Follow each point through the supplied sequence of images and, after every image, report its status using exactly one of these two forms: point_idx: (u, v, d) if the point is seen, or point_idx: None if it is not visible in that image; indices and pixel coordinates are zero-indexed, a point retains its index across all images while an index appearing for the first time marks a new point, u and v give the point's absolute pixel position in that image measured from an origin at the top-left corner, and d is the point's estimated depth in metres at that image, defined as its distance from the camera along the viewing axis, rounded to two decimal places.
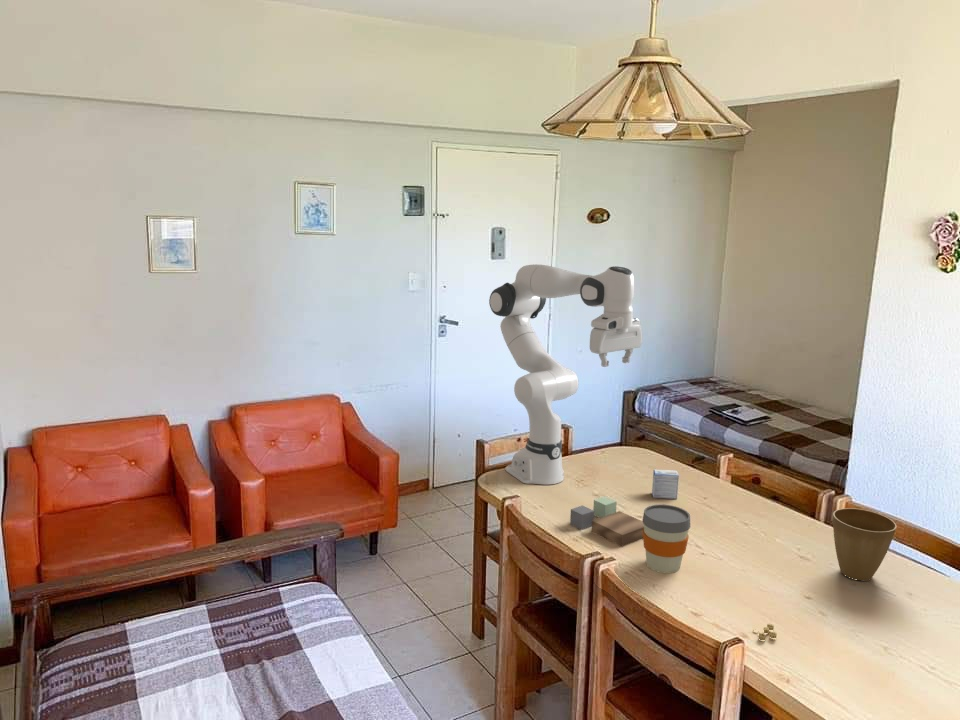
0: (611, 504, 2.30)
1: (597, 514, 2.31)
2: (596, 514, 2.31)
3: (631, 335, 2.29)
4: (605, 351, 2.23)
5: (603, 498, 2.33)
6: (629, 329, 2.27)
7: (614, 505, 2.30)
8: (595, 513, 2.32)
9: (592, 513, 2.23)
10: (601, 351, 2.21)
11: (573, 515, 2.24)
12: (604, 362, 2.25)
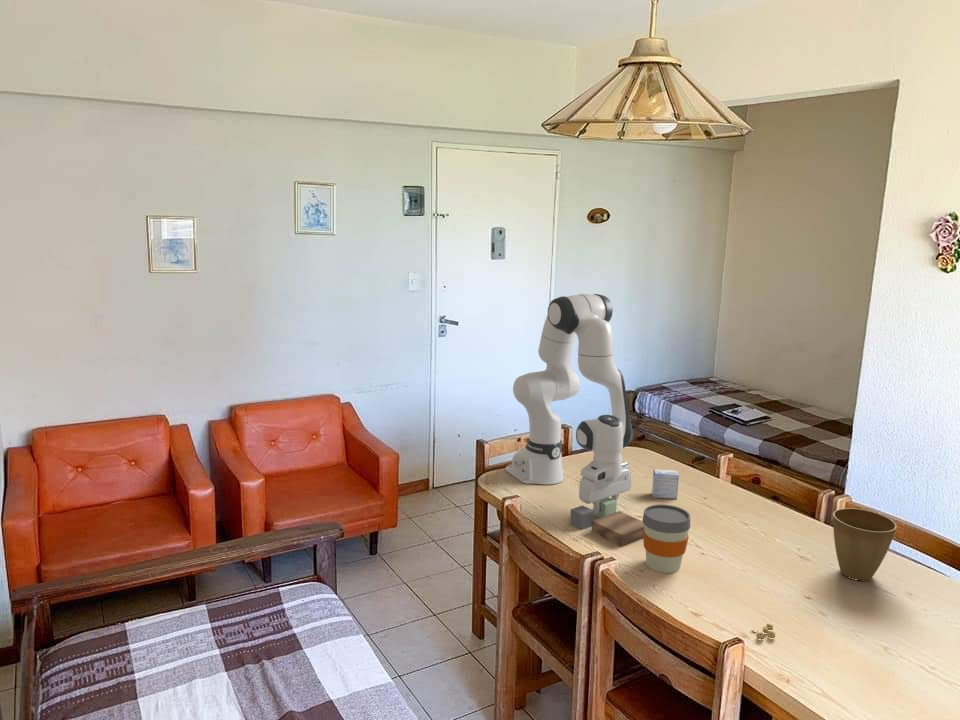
0: (611, 504, 2.30)
1: (597, 514, 2.31)
2: (597, 514, 2.31)
3: (620, 480, 2.32)
4: (594, 500, 2.25)
5: None
6: (618, 475, 2.30)
7: (614, 505, 2.30)
8: (595, 513, 2.32)
9: (592, 513, 2.23)
10: (590, 501, 2.24)
11: (573, 515, 2.24)
12: (597, 508, 2.29)
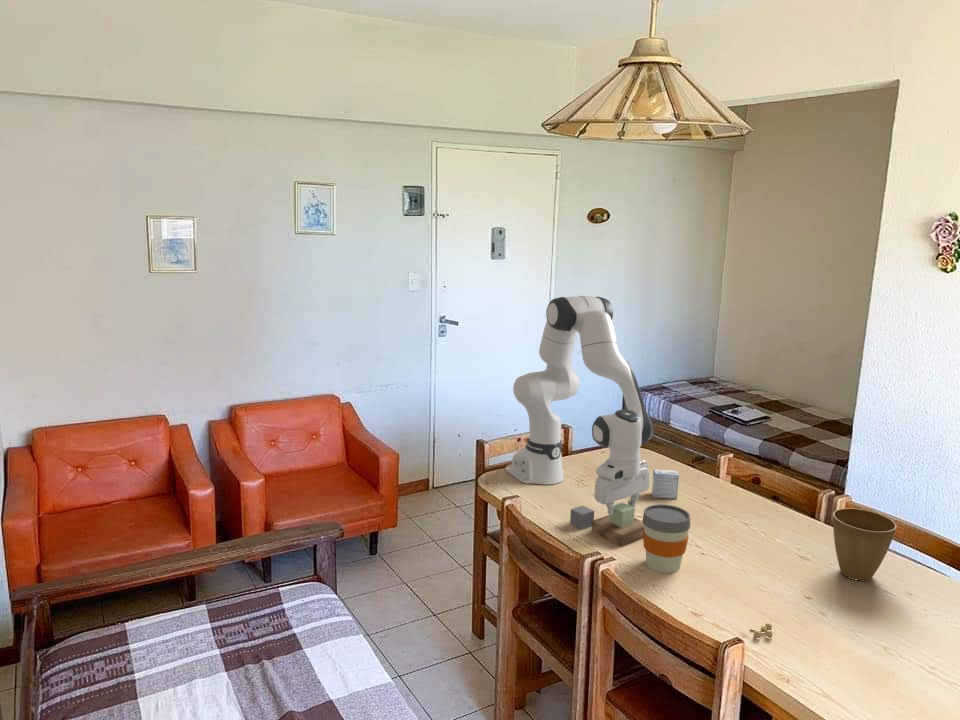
0: (629, 511, 2.16)
1: (614, 521, 2.18)
2: (613, 521, 2.18)
3: (638, 480, 2.18)
4: (611, 501, 2.11)
5: (620, 504, 2.19)
6: (636, 474, 2.16)
7: (632, 512, 2.17)
8: (611, 520, 2.18)
9: (592, 513, 2.23)
10: (607, 502, 2.10)
11: (573, 515, 2.24)
12: (611, 510, 2.14)
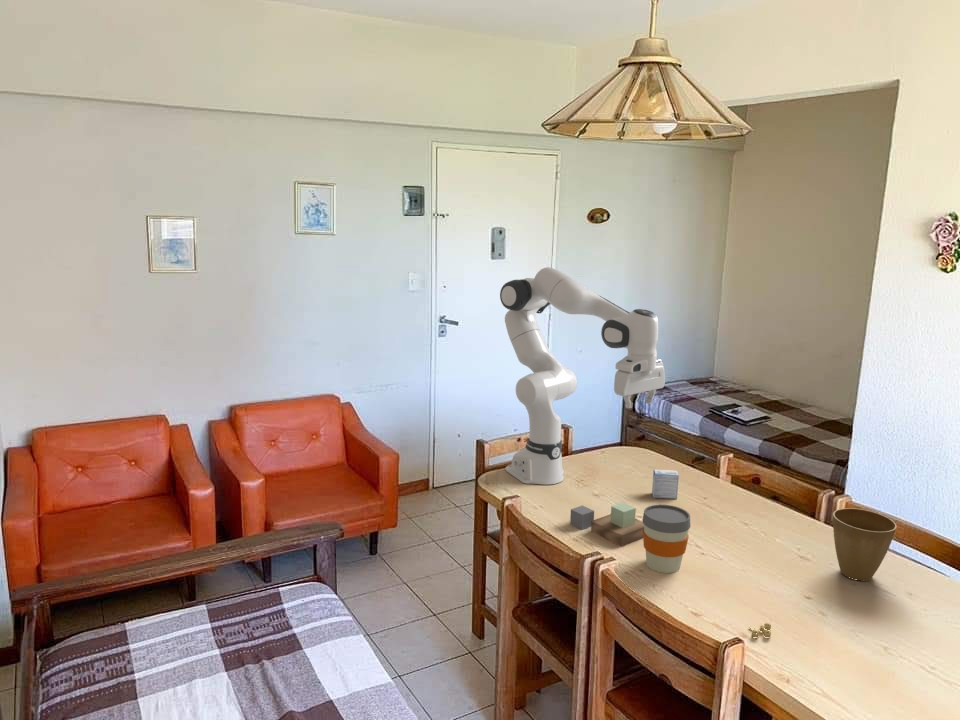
0: (630, 511, 2.16)
1: (615, 521, 2.18)
2: (614, 522, 2.18)
3: (654, 376, 2.31)
4: (629, 393, 2.25)
5: (621, 504, 2.19)
6: (653, 371, 2.30)
7: (633, 512, 2.17)
8: (612, 520, 2.18)
9: (592, 513, 2.23)
10: (626, 393, 2.24)
11: (573, 515, 2.24)
12: (628, 404, 2.28)
